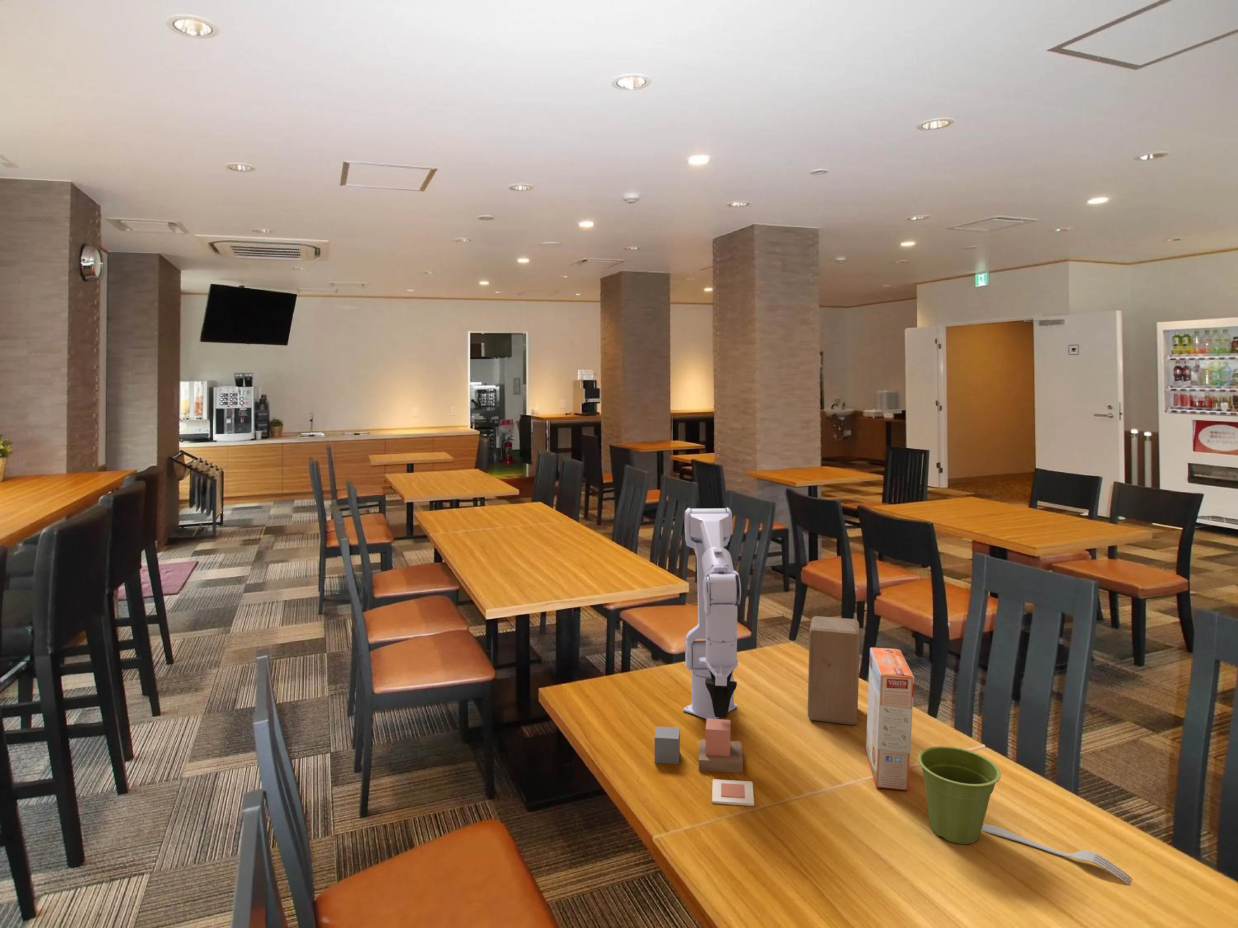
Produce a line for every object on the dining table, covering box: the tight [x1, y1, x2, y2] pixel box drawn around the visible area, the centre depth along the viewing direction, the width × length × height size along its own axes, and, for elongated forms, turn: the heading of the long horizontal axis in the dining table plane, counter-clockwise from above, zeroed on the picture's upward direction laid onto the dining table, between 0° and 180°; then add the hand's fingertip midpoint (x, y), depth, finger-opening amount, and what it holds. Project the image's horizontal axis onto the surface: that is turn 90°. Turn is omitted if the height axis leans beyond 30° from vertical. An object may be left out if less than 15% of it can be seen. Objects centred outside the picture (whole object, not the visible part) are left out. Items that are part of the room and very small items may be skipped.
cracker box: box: [865, 647, 915, 791], centre depth 136 cm, size 14×6×21 cm, turn 168°
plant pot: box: [917, 745, 1002, 845], centre depth 118 cm, size 12×12×11 cm
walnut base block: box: [698, 738, 744, 774], centre depth 141 cm, size 8×8×2 cm
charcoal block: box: [654, 726, 681, 765], centre depth 143 cm, size 4×4×5 cm
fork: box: [981, 823, 1133, 886], centre depth 113 cm, size 3×21×3 cm, turn 48°
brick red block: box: [705, 718, 731, 757], centre depth 141 cm, size 4×4×5 cm
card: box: [711, 778, 755, 807], centre depth 130 cm, size 7×7×1 cm
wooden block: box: [807, 615, 861, 726], centre depth 159 cm, size 10×10×20 cm
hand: (720, 707), depth 140 cm, fingers open, 7 cm apart
